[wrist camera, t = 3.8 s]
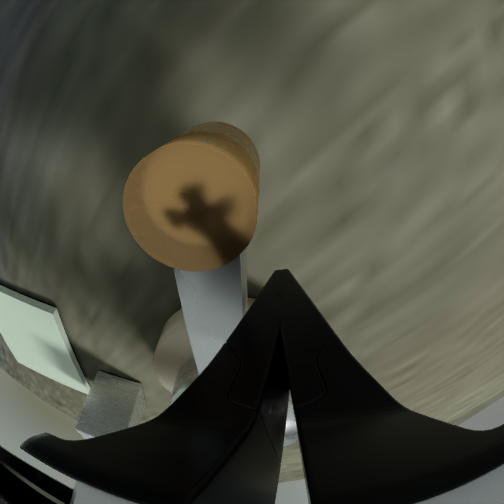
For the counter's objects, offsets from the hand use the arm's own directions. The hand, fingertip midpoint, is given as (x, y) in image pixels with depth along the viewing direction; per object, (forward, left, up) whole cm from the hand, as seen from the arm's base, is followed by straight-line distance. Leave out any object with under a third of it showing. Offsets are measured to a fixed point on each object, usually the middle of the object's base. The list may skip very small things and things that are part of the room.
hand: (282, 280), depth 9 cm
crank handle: (-4, +1, -1) cm, 5 cm away
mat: (-15, +18, -4) cm, 24 cm away
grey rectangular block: (-18, +9, -4) cm, 21 cm away
